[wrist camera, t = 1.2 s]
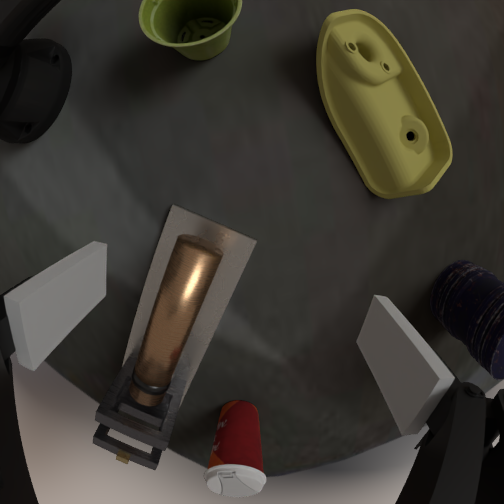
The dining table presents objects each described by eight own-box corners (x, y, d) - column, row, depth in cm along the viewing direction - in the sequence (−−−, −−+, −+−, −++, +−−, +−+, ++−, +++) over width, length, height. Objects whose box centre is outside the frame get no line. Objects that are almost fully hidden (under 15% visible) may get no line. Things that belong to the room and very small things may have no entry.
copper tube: (183, 229, 28) (170, 241, 24) (226, 248, 29) (221, 263, 25) (135, 373, 34) (123, 396, 29) (168, 388, 34) (159, 412, 30)
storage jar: (457, 329, 37) (511, 384, 22) (417, 312, 36) (475, 376, 21) (488, 272, 34) (553, 314, 20) (451, 247, 33) (526, 289, 19)
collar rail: (174, 203, 32) (125, 228, 19) (256, 239, 33) (257, 286, 20) (117, 393, 41) (85, 452, 28) (174, 417, 42) (155, 482, 29)
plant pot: (252, 10, 26) (250, -29, 17) (237, 78, 28) (230, 49, 20) (174, 7, 25) (154, -29, 17) (156, 72, 28) (127, 47, 20)
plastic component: (456, 156, 28) (424, 198, 25) (411, 162, 35) (373, 201, 32) (373, 6, 22) (319, 14, 19) (335, 32, 29) (280, 49, 26)
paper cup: (207, 398, 40) (192, 474, 27) (258, 391, 39) (258, 470, 26) (223, 430, 42) (215, 500, 29) (269, 424, 42) (272, 496, 28)
